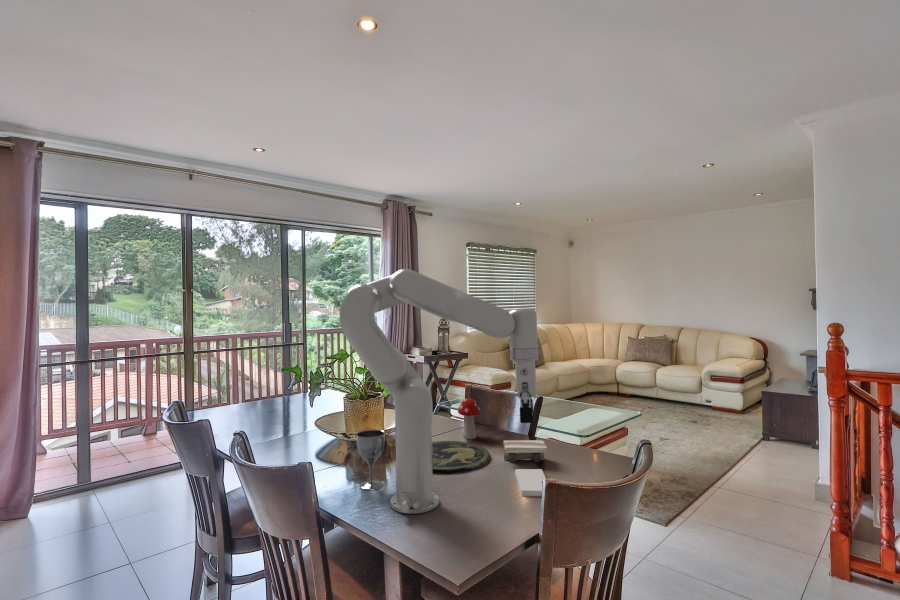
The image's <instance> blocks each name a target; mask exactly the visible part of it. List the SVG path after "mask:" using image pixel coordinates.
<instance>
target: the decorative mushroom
mask: <svg viewBox="0 0 900 600" xmlns="http://www.w3.org/2000/svg"><path fill="white" fill-rule="evenodd" d="M457 413H458V414H459V415H460V416H463V417H464V423H463V424H464V425H463V430H462V437H463V439H464V440H465V439H466V440H475V439H477V434H478V433H477V431H476V427H475V417H476V416H479V415H480V414H481V408H480V407H479V405H478V403H477V401H476V400H474V399H473V398H469V397H468V398H465V399H463V400H462V401H461V403H460V405H459V407H458V409H457Z"/></svg>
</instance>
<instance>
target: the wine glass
mask: <svg viewBox="0 0 900 600" xmlns="http://www.w3.org/2000/svg"><path fill="white" fill-rule="evenodd" d="M385 438H386V437H385V430H382V429H364V430H361V431H358V432H356V447H357V452H358V454H359V456H360V457H361V458H362V459H363V460H364V461H365V463H366V464H367V466H368V470H369V471H368V472H369V481H364V483H363V482H362V483H361V482H360V483H359V485H360V487H361V488H362V489H377V490H379V488H380V489H382V488H384V486H385V484H384V482H382V481H380V480H374V479H373V474H374V473H373V472H374V465H375V464H376V462H377V460H378V459H379V458H380V456H381V455H382V453H383V451H384V448H385V447H384V446H385ZM383 485H384V486H383ZM381 487H382V488H381Z"/></svg>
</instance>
